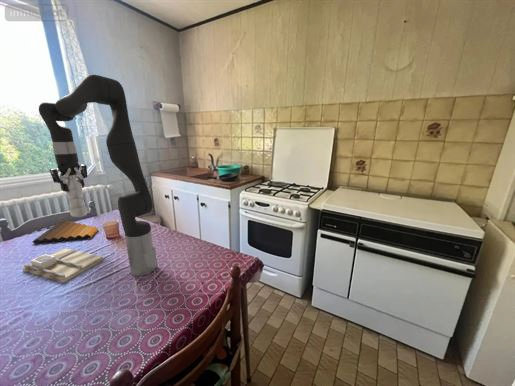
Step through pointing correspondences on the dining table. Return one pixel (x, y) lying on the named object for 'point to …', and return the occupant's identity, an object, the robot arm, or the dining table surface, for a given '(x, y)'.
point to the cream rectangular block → (43, 261)
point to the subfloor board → (65, 265)
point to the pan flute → (66, 232)
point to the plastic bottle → (75, 197)
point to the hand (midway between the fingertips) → (73, 189)
